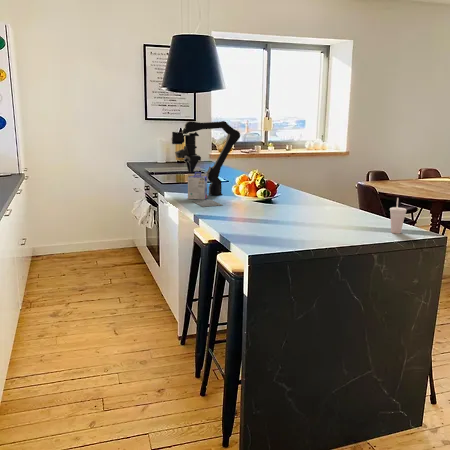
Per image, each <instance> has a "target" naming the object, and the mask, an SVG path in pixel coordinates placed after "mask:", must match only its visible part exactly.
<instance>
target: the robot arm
mask: <svg viewBox="0 0 450 450" xmlns="http://www.w3.org/2000/svg"><path fill="white" fill-rule="evenodd" d="M213 129H214V130H215V129H216V130H217V129H222V130H223V131H224V132H225V133H226V134H227V137H226V141H225V143H224V146H223V147H222V149H221V151H220V153H219V156H218V157H217V159H216V161H215V162H214V164H213V166H212V167H211V166H209V167H208V169H207V171H206V175H205V176H207V181H209V182H210V183H209V186H208V192H207V195H210V196H223V193H222V189H223V188H222V186H223V185H222V181H223V180H221V179H220V178H219V176H220V173H221V169H222V166H223V164H225V161H226V159H227V157H228V155H229V154H230V151H231V149H232V148H233V146H234V145H236V143H237V142H238V141H239V139H240V138H241V133H240V131H238V129H234V128H233V127H232V126H231V125H229V124H228V123H227V121H225V120H221V121H211V122H209V121H208V122H206V121H205V122H199V121H189V120H188V121H187V122H185V124H184V127H183V130H182V131H179V132H178V131H171V132H172V133H171V144H172V145H183V143H185V144H184V146H183V148H182V149H179V150H177V151H175V152H174V154H175V156H176V158H177V159H182V160H183V162H185V165H186V168H187V172H188V173H191V174H192V173H194V170H195V168H196V166H197V164H198V162H201V161H202V157H201V156H200V155H198V154H197V153H196V151H197V150H196V149H197V146H196V144H197V143H196V137H199V136H200V135H199V134H198V132H197V131H201V130H213Z"/></svg>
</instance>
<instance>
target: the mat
mask: <svg viewBox="0 0 450 450" xmlns="http://www.w3.org/2000/svg"><path fill="white" fill-rule="evenodd" d="M191 202H192V203H194V204H196V205H198V206H199V207H202V208H207V207H218V206H219V207H222V206H224V205H223V204H221V203H220V202H217V201H215V200H213V199H205V200H203V199H197V200H192V201H191Z"/></svg>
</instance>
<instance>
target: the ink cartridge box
mask: <svg viewBox="0 0 450 450" xmlns="http://www.w3.org/2000/svg"><path fill="white" fill-rule="evenodd" d="M187 200H208V179H207V176H206V175H205V176H202V172H201V171H195V172H194V175H190V176H187Z"/></svg>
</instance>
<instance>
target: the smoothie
mask: <svg viewBox="0 0 450 450" xmlns="http://www.w3.org/2000/svg"><path fill="white" fill-rule="evenodd" d="M389 211H390V213H389V214H390V215H389V216H390V233H392V234H396V235H397V234H401V233H402V230H403V225H404V220H405V218H406V213H407V208H404V207H399V197H396V206H392V207H390V208H389Z"/></svg>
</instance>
